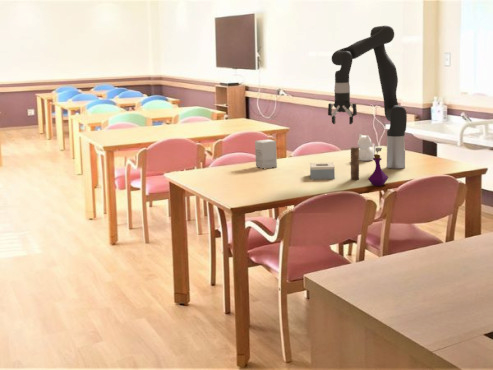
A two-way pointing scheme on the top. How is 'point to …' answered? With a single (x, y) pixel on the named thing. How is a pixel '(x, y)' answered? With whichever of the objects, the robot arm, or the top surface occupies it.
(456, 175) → the top surface
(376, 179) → the perfume bottle
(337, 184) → the top surface
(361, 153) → the cat figurine
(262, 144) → the supplement box
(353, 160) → the walnut peg
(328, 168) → the grey box cream lid
